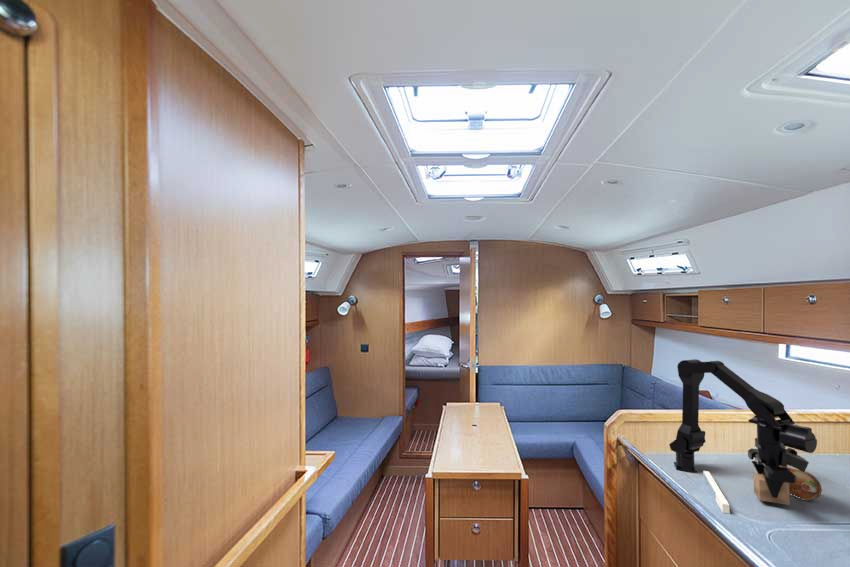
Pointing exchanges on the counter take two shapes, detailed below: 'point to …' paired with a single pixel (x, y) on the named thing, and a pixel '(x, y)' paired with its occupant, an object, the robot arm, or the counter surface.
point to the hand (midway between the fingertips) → (771, 493)
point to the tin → (804, 485)
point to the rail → (716, 492)
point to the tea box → (764, 493)
